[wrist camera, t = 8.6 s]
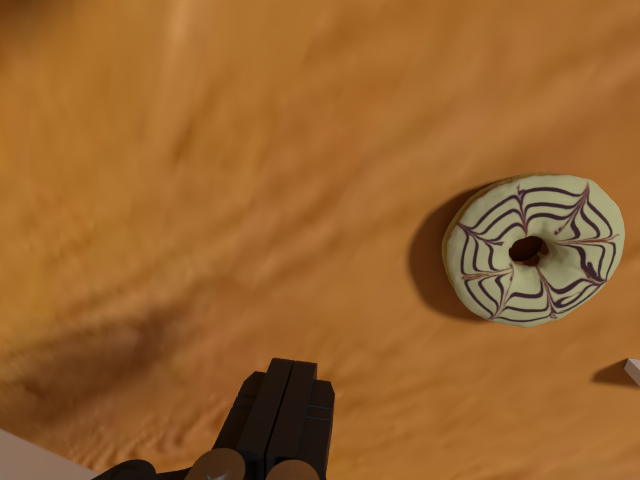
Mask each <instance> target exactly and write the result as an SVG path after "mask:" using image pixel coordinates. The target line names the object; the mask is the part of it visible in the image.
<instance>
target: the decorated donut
mask: <svg viewBox="0 0 640 480" xmlns="http://www.w3.org/2000/svg"><path fill="white" fill-rule="evenodd" d="M528 236H536V237H539V238H541V239H542V240H543V244H542V247H541V249H540V250H539V251H538V252H537V254H536V255H534V256H533V257H532V258H529V259H528V260H525V261H521V262H520V261H519V262H518V261H513V260H512V259H511V258H510V256H509V248H510V247H512V245H513V243H514V242H515V241H517V240H519V239H523V238H526V237H528ZM624 239H625V232H624V223H623V219H622V216H621V212H620V209H619V207H618V206H617V205H616V203H615V202H614V201H613V200H612V199H610V197H609V196H608V195H607V194H606V193H605V192H604V191H603V190H602V189H601V188H600V187H599V186H598V185H597V184H596V183H595V182H593V181H591V180H590V179H587V178H581V177H580V178H579V177H575V176H572V175H562V174H554V173H526V174H522V175H517V176H514V177H510V178H506V179H504V180H501V181H498V182H496V183H493V184H491V185H489V186H488V187H486V188H484V189H482V190H480V191H479V192H476V194H474V195H473V196H472V197H470V198H469V199H468V200H467V201H466V202H465V203H464V205H463V206H462V207H461V208H460V209H459V211H458V212H457V213H456V215H455V216H454V218H453V219H452V221H451V222H450V224H449V226H448V228H447V230H446V232H445V234H444V238H443V241H442V258H443V263H444V266H445V271H446V274H447V275H448V280H449V282H450V283H451V285H452V287H453V288H454V290H455V292H456V294H457V296H458V298H459V299H460V300H461V301H462V303H463V304H464V305H465V306H466V307H467V308H468V309H469V310H470V311H471V312H473V313H475V314H476V315H478V316H481V317H482V318H484V319H486V320H489V321H492V322H495V323H500V324H506V325H515V326H520V327H524V328H529V327H533V326H537V325H540V324H543V323H545V322H547V321H556V320H559V319H561V318H562V317H564V316H565V315H567V314H569V313H570V312H572V311H573V310H574V309H576V308H577V307H579V306H581V305H582V304H584V303H585V302H587V301H588V300H589V299H591V298H592V297H593V296H594V295H595V294H597V293H598V292H599V291H600V289H601V288H602V287H603V286H604V285H605V284H606V283H607V282H608V281H609V279H610V278H611V276H612V275H613V273H614V271H615V269H616V267H617V266H618V264H619V261H620V259H621V256H622V251H623V245H624Z"/></svg>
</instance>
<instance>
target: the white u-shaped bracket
mask: <svg viewBox="0 0 640 480" xmlns="http://www.w3.org/2000/svg"><path fill="white" fill-rule="evenodd" d="M624 370H625V371H626V372H627V373H628V374H629V375H630V376H631V377H632V379H633V380H634V381H635V382H636V383H637V384H638V385H639V386H640V360H638V359H630V358H628V360H627V362H626V365H625V367H624Z"/></svg>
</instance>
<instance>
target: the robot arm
mask: <svg viewBox="0 0 640 480" xmlns="http://www.w3.org/2000/svg"><path fill="white" fill-rule="evenodd" d="M334 399H335V393H334V391H333V388H332V385H331V382H329V381H322V380H317V363H311V362H303V361H294V360H288V359H280V358H273V359H272V360H271V363H270V365H269V368H268V370H267V373H264V372H257V371H255V372H254V373H253V374H252V375H250V376H249V377H248V378H247V379H246V380H245V381H244V382H243V385H242V387H241V389H240V391H239V393H238V397H236V399H235V402H234V404H233V407H232V408H231V410H230V412H229V414H228V416H227V419H226V421H225V423H224V425H223V427H222V429H221V431H220V433H219V436H218V438H217V440H216V442H215V444H214V446H213V448H212V450H210V451H208V452H206V453H205V454H203V455H202V456H201V457H199V458H198V459H197V460H196V462H195V463H194V464H193V466H192V467H190V468H187V469H183V470H179V471H172V472H165V473H159V474H156V471H155V468H154V467H153V465H152V464H150V463H149V462H147V461H145V460H138V459H135V460H129V461H125V462H123V463H120V464H118V465H116V466H114V467H113V468H111V469H109V470H107V471H106V472H104V473H102V474H100V475H99V476H97V477H95V478H93V479H92V480H326V470H327V463H328V456H329V448H330V441H331V434H332V425H333V412H334Z"/></svg>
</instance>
